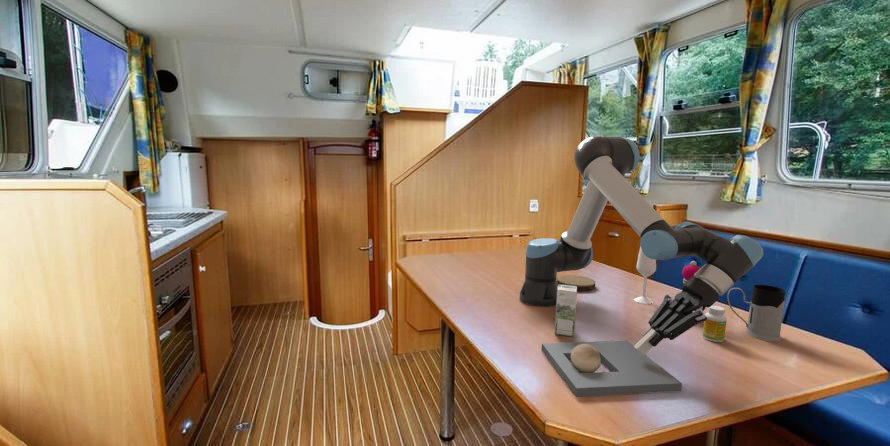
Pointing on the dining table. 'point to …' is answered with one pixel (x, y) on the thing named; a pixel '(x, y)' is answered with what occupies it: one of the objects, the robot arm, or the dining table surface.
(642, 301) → the champagne flute
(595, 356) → the tan round lump
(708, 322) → the supplement bottle
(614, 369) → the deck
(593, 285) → the wood slice
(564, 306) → the syrup box
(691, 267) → the pepper mill
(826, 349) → the dining table surface
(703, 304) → the robot arm
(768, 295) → the glass holder
